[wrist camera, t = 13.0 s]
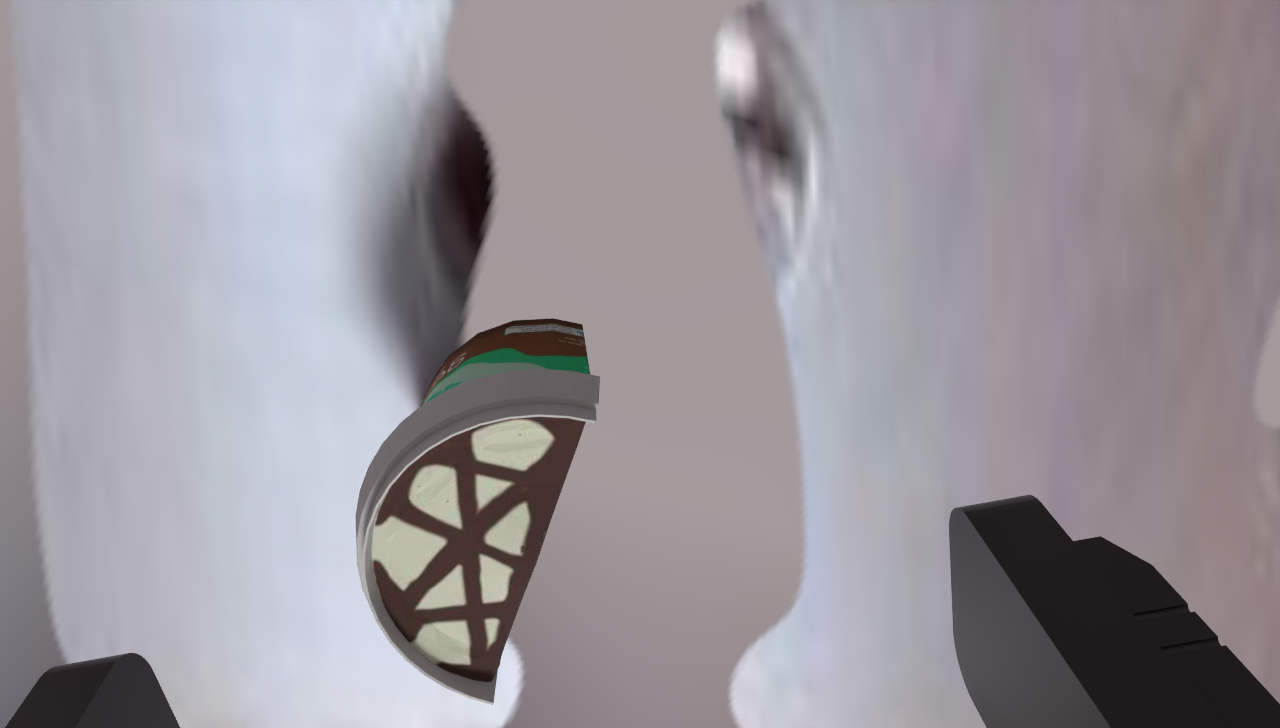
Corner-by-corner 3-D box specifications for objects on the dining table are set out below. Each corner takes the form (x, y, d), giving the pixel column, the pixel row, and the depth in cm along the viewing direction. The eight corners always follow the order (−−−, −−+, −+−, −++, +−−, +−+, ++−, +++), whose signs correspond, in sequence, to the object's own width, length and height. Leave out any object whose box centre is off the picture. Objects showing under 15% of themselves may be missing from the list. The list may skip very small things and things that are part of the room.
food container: (437, 242, 37) (394, 347, 28) (594, 290, 38) (602, 405, 29) (364, 512, 41) (306, 678, 32) (505, 546, 43) (488, 716, 34)
